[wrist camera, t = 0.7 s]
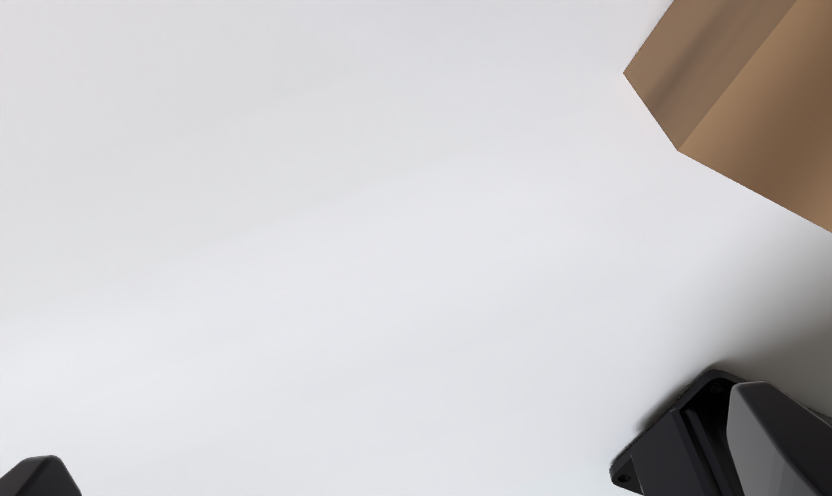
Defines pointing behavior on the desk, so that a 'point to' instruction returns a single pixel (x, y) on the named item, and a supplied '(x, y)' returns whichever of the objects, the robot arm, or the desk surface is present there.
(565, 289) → the desk surface
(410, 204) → the desk surface
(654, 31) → the walnut cube
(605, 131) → the desk surface
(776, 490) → the robot arm
